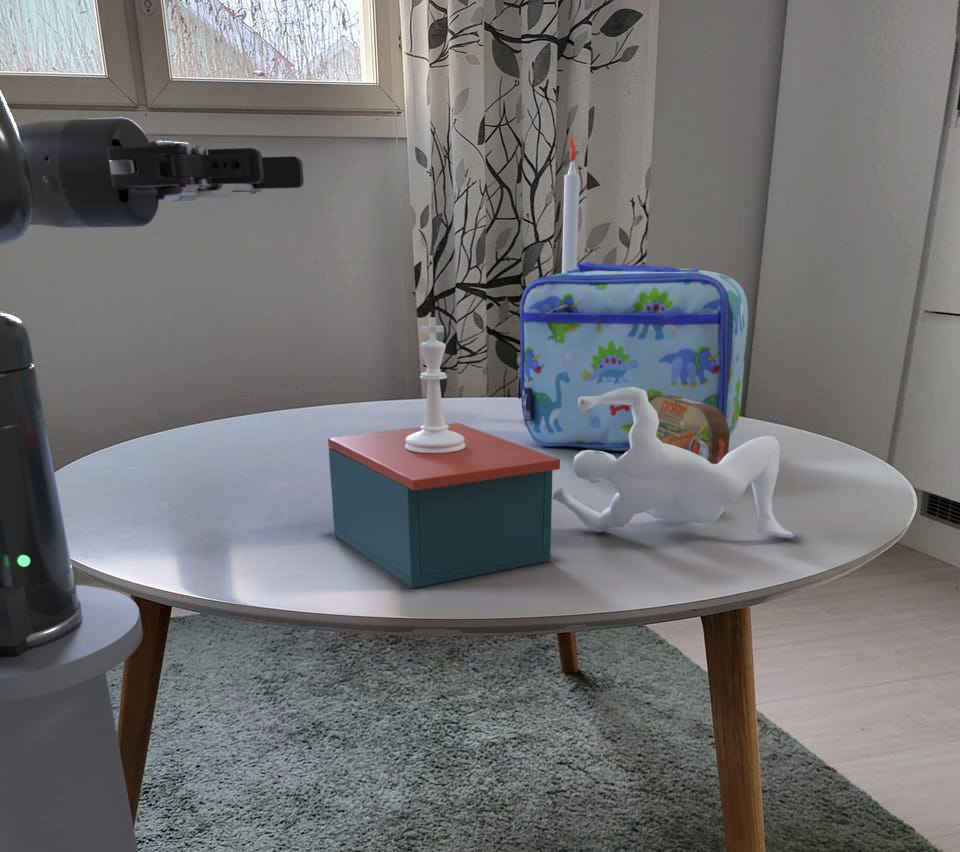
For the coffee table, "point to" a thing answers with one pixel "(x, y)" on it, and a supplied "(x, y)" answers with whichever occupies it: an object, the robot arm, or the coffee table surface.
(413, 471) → the red box lid
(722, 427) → the tin
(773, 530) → the person figurine
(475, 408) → the coffee table surface
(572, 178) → the candlestick
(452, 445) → the chess piece
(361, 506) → the teal box
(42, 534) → the robot arm
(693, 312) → the lunch box
